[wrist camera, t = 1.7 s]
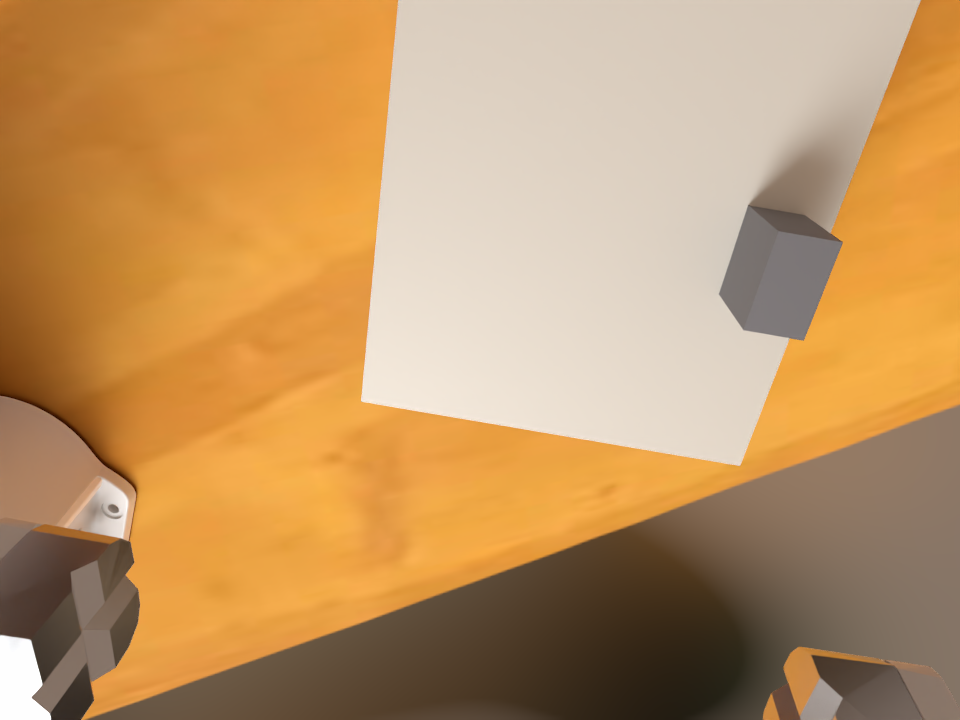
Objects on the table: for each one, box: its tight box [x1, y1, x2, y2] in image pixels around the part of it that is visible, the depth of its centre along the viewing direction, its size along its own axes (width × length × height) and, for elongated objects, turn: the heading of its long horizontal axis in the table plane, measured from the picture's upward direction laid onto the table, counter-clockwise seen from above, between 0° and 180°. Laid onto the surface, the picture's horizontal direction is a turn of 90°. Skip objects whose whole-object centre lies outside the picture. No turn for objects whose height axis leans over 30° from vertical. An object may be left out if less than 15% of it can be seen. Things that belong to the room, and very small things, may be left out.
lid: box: [361, 0, 921, 466], centre depth 29 cm, size 21×19×5 cm
